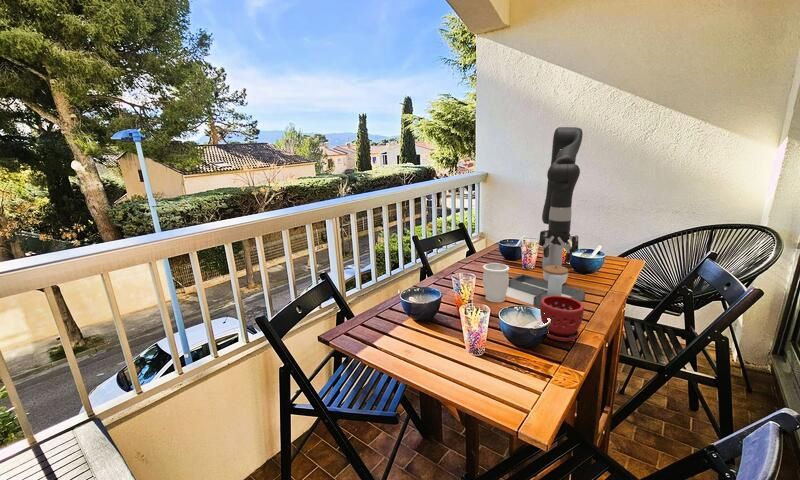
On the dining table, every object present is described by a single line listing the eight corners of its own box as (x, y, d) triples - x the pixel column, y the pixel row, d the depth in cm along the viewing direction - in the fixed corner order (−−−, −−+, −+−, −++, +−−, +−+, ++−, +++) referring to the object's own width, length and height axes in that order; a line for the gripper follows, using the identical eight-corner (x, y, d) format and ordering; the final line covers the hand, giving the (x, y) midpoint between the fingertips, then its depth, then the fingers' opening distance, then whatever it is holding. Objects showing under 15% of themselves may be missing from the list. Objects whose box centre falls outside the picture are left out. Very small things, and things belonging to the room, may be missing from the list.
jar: (479, 302, 144) (480, 269, 140) (485, 293, 153) (486, 261, 149) (505, 306, 139) (506, 272, 135) (510, 297, 148) (511, 264, 144)
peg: (550, 301, 140) (552, 273, 137) (562, 305, 136) (564, 277, 134) (544, 305, 137) (546, 277, 134) (556, 309, 133) (558, 280, 131)
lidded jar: (562, 280, 164) (563, 261, 162) (570, 288, 154) (572, 269, 152) (539, 280, 165) (540, 261, 163) (546, 288, 155) (547, 269, 153)
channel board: (522, 282, 164) (522, 280, 163) (584, 300, 141) (584, 299, 141) (496, 293, 152) (496, 292, 152) (559, 316, 130) (559, 314, 129)
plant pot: (586, 345, 110) (589, 311, 107) (542, 343, 112) (545, 309, 109) (574, 326, 122) (577, 295, 119) (535, 323, 125) (537, 293, 122)
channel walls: (522, 280, 163) (522, 273, 163) (584, 299, 141) (585, 291, 140) (496, 292, 152) (496, 284, 151) (559, 314, 129) (560, 305, 128)
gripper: (584, 219, 125) (580, 261, 129) (547, 214, 136) (544, 253, 140) (574, 222, 120) (570, 265, 124) (536, 217, 131) (534, 257, 135)
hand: (556, 259), depth 132 cm, fingers open, 8 cm apart
